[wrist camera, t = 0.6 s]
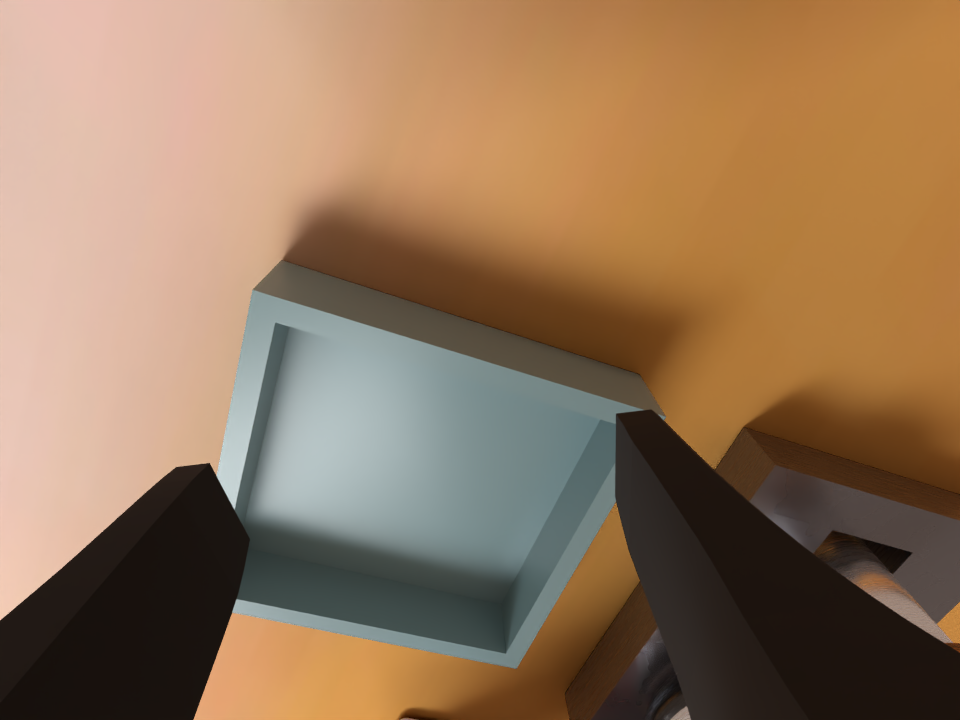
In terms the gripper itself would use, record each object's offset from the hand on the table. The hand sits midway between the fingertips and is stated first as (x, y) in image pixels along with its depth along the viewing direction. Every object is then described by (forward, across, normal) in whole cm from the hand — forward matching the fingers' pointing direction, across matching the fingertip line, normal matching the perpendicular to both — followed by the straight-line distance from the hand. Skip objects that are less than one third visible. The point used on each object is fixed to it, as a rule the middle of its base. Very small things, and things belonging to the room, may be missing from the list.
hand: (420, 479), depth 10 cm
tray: (+10, +2, +8) cm, 13 cm away
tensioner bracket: (+9, -12, +19) cm, 25 cm away
